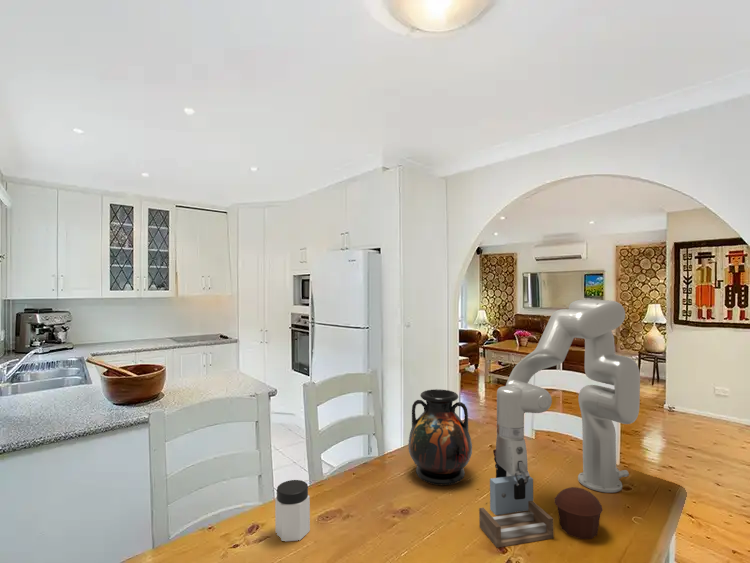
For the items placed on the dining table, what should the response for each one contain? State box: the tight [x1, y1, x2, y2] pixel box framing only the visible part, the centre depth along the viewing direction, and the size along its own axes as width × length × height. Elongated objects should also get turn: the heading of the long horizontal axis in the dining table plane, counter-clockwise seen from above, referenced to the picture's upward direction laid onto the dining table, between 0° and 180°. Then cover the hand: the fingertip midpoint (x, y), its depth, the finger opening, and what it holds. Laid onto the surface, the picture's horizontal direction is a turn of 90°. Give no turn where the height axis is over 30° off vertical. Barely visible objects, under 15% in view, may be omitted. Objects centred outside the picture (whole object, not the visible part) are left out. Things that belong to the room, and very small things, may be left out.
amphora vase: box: [407, 388, 473, 486], centre depth 140 cm, size 22×22×28 cm
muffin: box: [554, 486, 604, 540], centre depth 108 cm, size 12×11×10 cm
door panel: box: [489, 476, 534, 516], centre depth 118 cm, size 12×3×9 cm, turn 103°
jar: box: [274, 479, 311, 542], centre depth 108 cm, size 9×8×12 cm
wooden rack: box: [478, 500, 554, 548], centre depth 107 cm, size 16×9×5 cm, turn 103°
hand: (510, 490), depth 118 cm, fingers open, 9 cm apart
